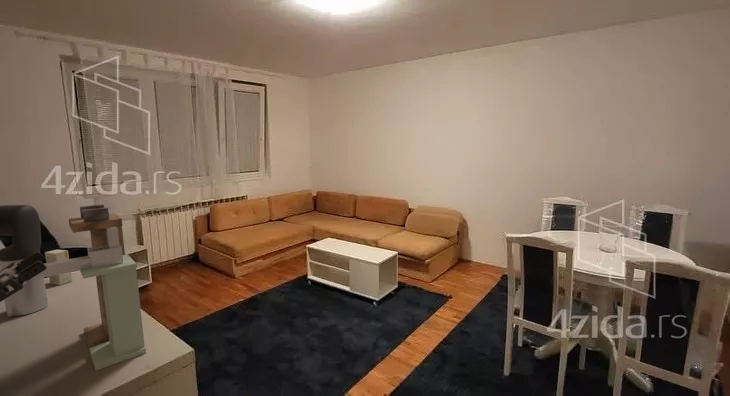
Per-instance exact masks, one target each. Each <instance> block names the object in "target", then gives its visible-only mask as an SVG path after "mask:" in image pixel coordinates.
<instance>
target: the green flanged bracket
mask: <svg viewBox="0 0 730 396" xmlns="http://www.w3.org/2000/svg"><path fill="white" fill-rule="evenodd" d="M137 267H138V265H137V263H136V262H135V260H134V259H132V257H131V255H129V254H125V255H123V263H121V264H116V265H111V266H106V267H100V268H95V269H91V268H89V269H84V270H79V271H80V274H81V276H82V279H83V280H84V279H88V278H89V279H90V278H93V277H96V276H99V275H101V276H102V284H103V292H104V300H105V308H106V316H107V324H108V332H109V341H107V342H104V343H101V344H98V345H94V346H91V347H89V353H90V356H91V360H92V362H93V366H94V367H93V368H94V369H95V371H99V370H101V369H104V368H107V367H110V366H114V365H115V364H118V363H119V364H120V362H121V363H122V362H124V361H127V360H129V359H132V358H135V357H138V356H141V355H143V354H144V355H145V353H146V354H147V350H146V346H145V339H144V338H145V337H144V336H145V335H144V328H143V318H142V310H141V309H142V308H141V301H140V300H141V299H140V293H139V292H140V291H139V283H138V282H139V281H138V274H137Z"/></svg>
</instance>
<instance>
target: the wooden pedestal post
mask: <svg viewBox="0 0 730 396" xmlns="http://www.w3.org/2000/svg"><path fill="white" fill-rule="evenodd" d="M79 213H80V217H71V218H68V226H69V228H70V230H71V232H72V233H75V234H77V233H82V232H89V234H90V240H91V248H92V247H98V246H104V245H108V243H107V235H106V228H109V227H117V228H118V236H119V244H120V246H121V247H122V255H126V251H125V244H124V243H125V242H124V241H125V240H124V233H123V218H122V217H120V216H119V215H118V214H116V213H110V212H109V207H106V206H105V205H104V204H92V205H83V206H79ZM95 279H96V288H97V295H98V296H97V297H98V302H99V303H98V304H99V311H100V312H99V313H100V319H101V323H97V324H94V325H91V326H87V327H84V328H83V333H84V337H85V340H86V343H87V347H88V348H91V347H94V346H97V345H100V344H103V343H106V342H109V332H108V324H107V316H106V308H105V300H104V292H103V284H102V276H101V275H99V276H95Z"/></svg>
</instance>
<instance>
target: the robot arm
mask: <svg viewBox="0 0 730 396" xmlns="http://www.w3.org/2000/svg"><path fill="white" fill-rule="evenodd" d="M41 230H42V229H41V219H40V216H39V213H38V211H37V209H36V208H34V206H31V205H30V204H29V205H28V204H16V205H15V204H14V205H13V204H12V205H11V204H8V205H7V204H5V205H0V236H1V237H9V236H11V237H12V243H11V244H10V245H9V246H6V247H2V248H1V249H0V303H1V302H3V301H4V305H5V306H4V307H5V311H6V317H7V318H10V317H17V316H24V315H30V314H33V313H36V312H39V311H41V310H43V309H45V308H47V307H48V305H49V302H48V296H47V295H48V294H47V289H46V282H45V277H43V278H38V279H33V280H31V278H33V277H35V276H36V275H38V274H39V273H41V272H42V271H44V270H46V266H45V265H44V262H43V261H44V260H46V257H45V255H43V254H42V253H41V245H42V232H41Z"/></svg>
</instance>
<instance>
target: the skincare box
mask: <svg viewBox="0 0 730 396" xmlns="http://www.w3.org/2000/svg"><path fill="white" fill-rule="evenodd" d="M44 257H45V262H46V263H50V262H56V261H61V260H67V259H70V258H69V257H70V256H69V250H68V249H67V250H66V249H53V250H50V251H45V252H44ZM48 279H49V284H52V285H57V286H62V285H65V284H67V283H71V282H73V273H72V272H69V273H64V274H59V275H53V276H48Z"/></svg>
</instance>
